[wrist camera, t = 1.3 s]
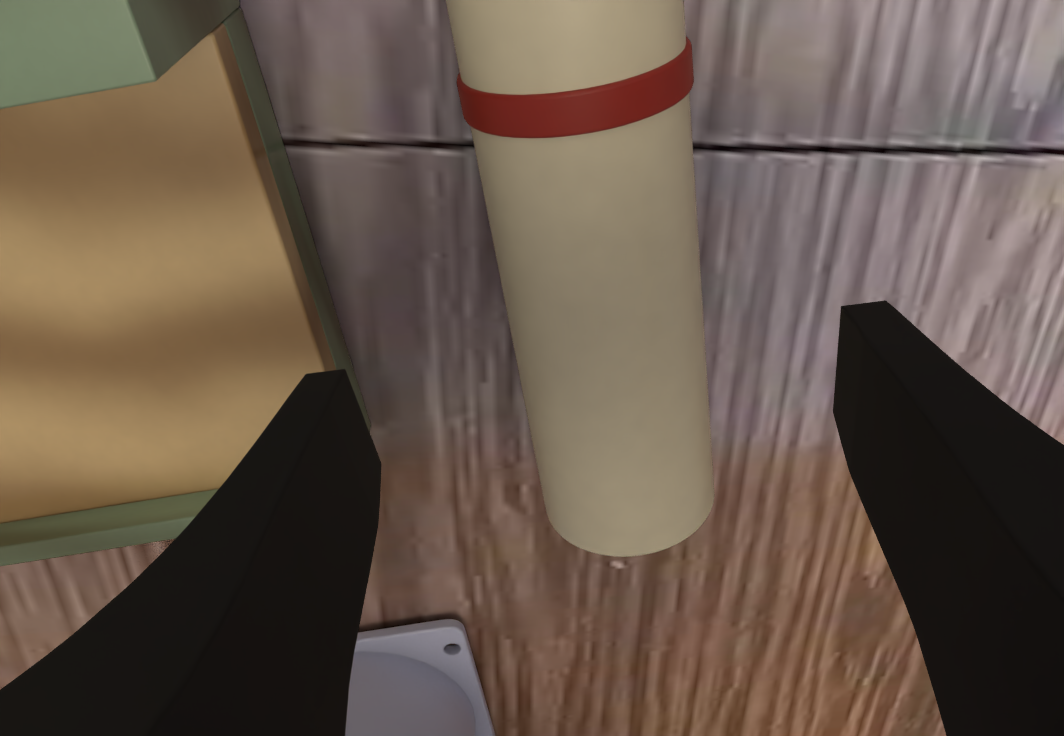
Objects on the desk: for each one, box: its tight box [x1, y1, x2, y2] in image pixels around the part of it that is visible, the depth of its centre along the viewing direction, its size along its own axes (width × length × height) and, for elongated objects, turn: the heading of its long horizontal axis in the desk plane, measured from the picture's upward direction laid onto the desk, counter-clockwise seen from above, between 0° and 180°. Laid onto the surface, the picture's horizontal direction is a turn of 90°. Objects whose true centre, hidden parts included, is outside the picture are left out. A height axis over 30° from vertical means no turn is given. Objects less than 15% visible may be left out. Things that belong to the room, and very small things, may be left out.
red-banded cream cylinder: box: [446, 0, 714, 557], centre depth 20 cm, size 15×5×5 cm, turn 9°
